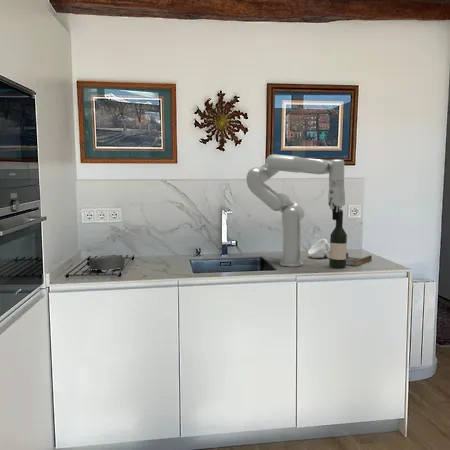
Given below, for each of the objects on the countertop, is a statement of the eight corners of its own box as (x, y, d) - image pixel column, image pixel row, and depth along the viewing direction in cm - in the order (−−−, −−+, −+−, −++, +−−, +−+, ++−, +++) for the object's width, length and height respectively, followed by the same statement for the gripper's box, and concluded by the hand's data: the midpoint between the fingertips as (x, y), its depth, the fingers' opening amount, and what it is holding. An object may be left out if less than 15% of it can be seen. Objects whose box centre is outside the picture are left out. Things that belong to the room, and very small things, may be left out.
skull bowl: (340, 256, 256) (330, 238, 253) (321, 269, 255) (310, 252, 252) (332, 252, 266) (322, 236, 263) (314, 265, 265) (303, 249, 262)
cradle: (329, 263, 243) (330, 257, 242) (346, 257, 258) (346, 252, 257) (355, 266, 233) (355, 261, 233) (371, 260, 248) (371, 255, 247)
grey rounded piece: (118, 265, 243) (117, 251, 242) (128, 269, 234) (128, 254, 234) (86, 271, 230) (85, 256, 230) (96, 274, 222) (95, 259, 221)
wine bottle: (346, 268, 228) (348, 209, 226) (329, 267, 230) (331, 209, 228) (345, 265, 237) (347, 209, 234) (329, 264, 238) (331, 209, 236)
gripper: (336, 184, 218) (335, 221, 220) (349, 183, 229) (349, 218, 231) (322, 184, 223) (322, 220, 225) (336, 183, 234) (336, 218, 236)
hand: (335, 219), depth 228 cm, fingers closed
